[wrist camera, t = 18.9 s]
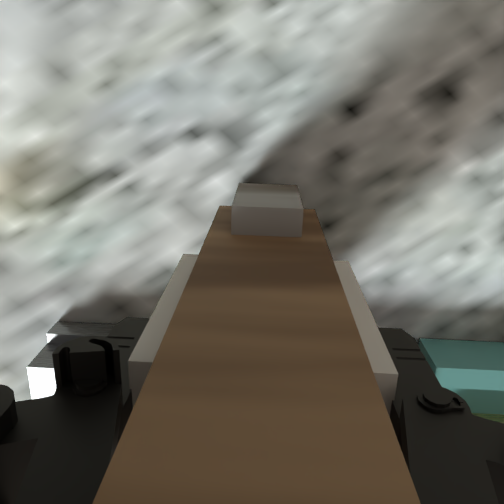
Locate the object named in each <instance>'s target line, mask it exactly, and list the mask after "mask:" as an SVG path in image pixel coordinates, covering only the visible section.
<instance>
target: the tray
mask: <svg viewBox="0 0 504 504" xmlns="http://www.w3.org/2000/svg"><path fill="white" fill-rule="evenodd" d="M418 346H419V348H420V349H421V350H420V351H421V352H422V353H423V355H424V356H425V358H426V361H427V362H428V363H429V365H430V367H431V369H432V370H433V372H434V374H435V376H436V377H437V379H438V381H439V383H440V385H441V386H442V387H444V388H446V389H449V390H451V391H453V392H455V393H457V394H458V395H459V396H460V397H462V398H463V399H464V400H465V401H466V402H467V404H468V406H469V407H470V410H471V413H483V414H502V415H504V342H487V341H466V340H444V339H423V338H419V344H418Z"/></svg>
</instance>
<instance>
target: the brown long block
mask: <svg viewBox="0 0 504 504" xmlns="http://www.w3.org/2000/svg"><path fill="white" fill-rule="evenodd" d="M92 504H421V503H420V501H419V498H418V495H417V492H416V489H415V487H414V484H413V481H412V478H411V476H410V473H409V470H408V467H407V464H406V462H405V459H404V456H403V453H402V451H401V448H400V445H399V442H398V439H397V437H396V434H395V431H394V428H393V426H392V423H391V420H390V417H389V414H388V412H387V409H386V406H385V403H384V401H383V398H382V395H381V392H380V389H379V387H378V384H377V381H376V378H375V376H374V373H373V370H372V367H371V364H370V362H369V359H368V356H367V353H366V351H365V348H364V345H363V342H362V339H361V337H360V334H359V331H358V328H357V326H356V323H355V320H354V317H353V314H352V312H351V309H350V306H349V303H348V300H347V298H346V295H345V292H344V289H343V287H342V284H341V281H340V278H339V275H338V273H337V270H336V267H335V264H334V262H333V259H332V256H331V253H330V250H329V248H328V245H327V242H326V239H325V237H324V234H323V231H322V228H321V225H320V223H319V220H318V217H317V214H316V212H315V209H303V205H302V201H301V198H300V194H299V190H298V186H297V185H280V184H254V183H239V185H238V188H237V191H236V194H235V197H234V200H233V203H232V206H219V209H218V211H217V213H216V216H215V218H214V220H213V223H212V225H211V227H210V230H209V232H208V234H207V237H206V239H205V241H204V244H203V246H202V248H201V251H200V253H199V255H198V258H197V260H196V262H195V265H194V267H193V269H192V272H191V274H190V276H189V279H188V281H187V283H186V286H185V288H184V290H183V293H182V295H181V297H180V300H179V302H178V304H177V307H176V309H175V311H174V314H173V316H172V318H171V321H170V323H169V325H168V328H167V330H166V333H165V335H164V337H163V340H162V342H161V344H160V347H159V349H158V351H157V354H156V356H155V358H154V361H153V363H152V365H151V368H150V370H149V372H148V375H147V377H146V379H145V382H144V384H143V386H142V389H141V391H140V393H139V396H138V398H137V400H136V403H135V405H134V407H133V410H132V412H131V414H130V417H129V419H128V421H127V424H126V426H125V428H124V431H123V433H122V435H121V438H120V440H119V442H118V445H117V447H116V450H115V452H114V454H113V457H112V459H111V461H110V464H109V466H108V468H107V471H106V473H105V475H104V478H103V480H102V482H101V485H100V487H99V489H98V492H97V494H96V496H95V499H94V501H93V503H92Z"/></svg>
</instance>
